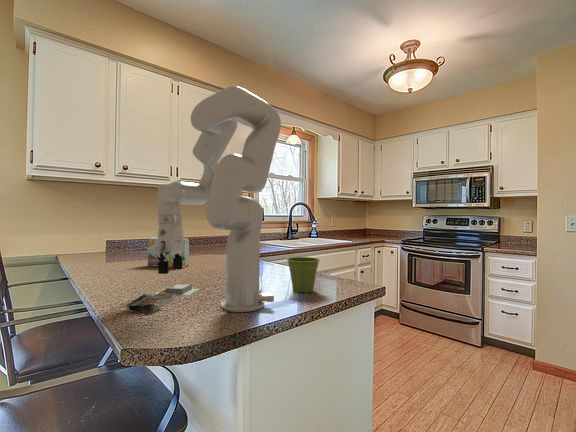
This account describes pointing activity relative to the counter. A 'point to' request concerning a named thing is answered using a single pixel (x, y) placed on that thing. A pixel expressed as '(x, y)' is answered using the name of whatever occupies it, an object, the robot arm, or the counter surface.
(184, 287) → the slate plaque
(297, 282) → the plant pot
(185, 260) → the snack box
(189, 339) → the counter surface
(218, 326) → the counter surface
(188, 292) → the mat
